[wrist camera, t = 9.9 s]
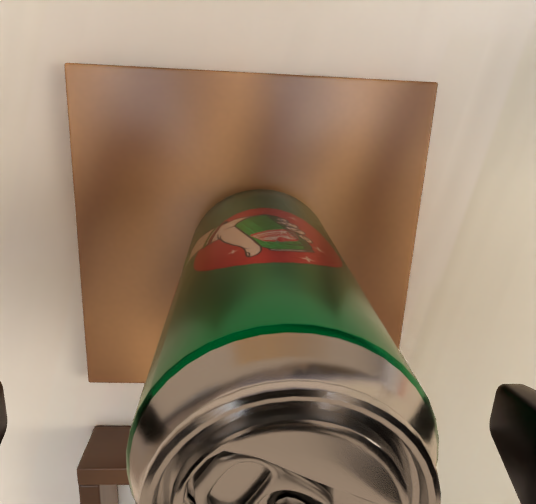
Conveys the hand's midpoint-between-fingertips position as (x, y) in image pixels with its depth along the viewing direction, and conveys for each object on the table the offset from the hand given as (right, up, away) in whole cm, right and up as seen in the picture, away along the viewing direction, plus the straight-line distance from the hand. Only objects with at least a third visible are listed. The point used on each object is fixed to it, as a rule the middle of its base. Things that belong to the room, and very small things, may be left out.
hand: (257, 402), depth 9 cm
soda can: (0, +3, +10) cm, 10 cm away
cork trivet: (0, +3, +10) cm, 10 cm away
